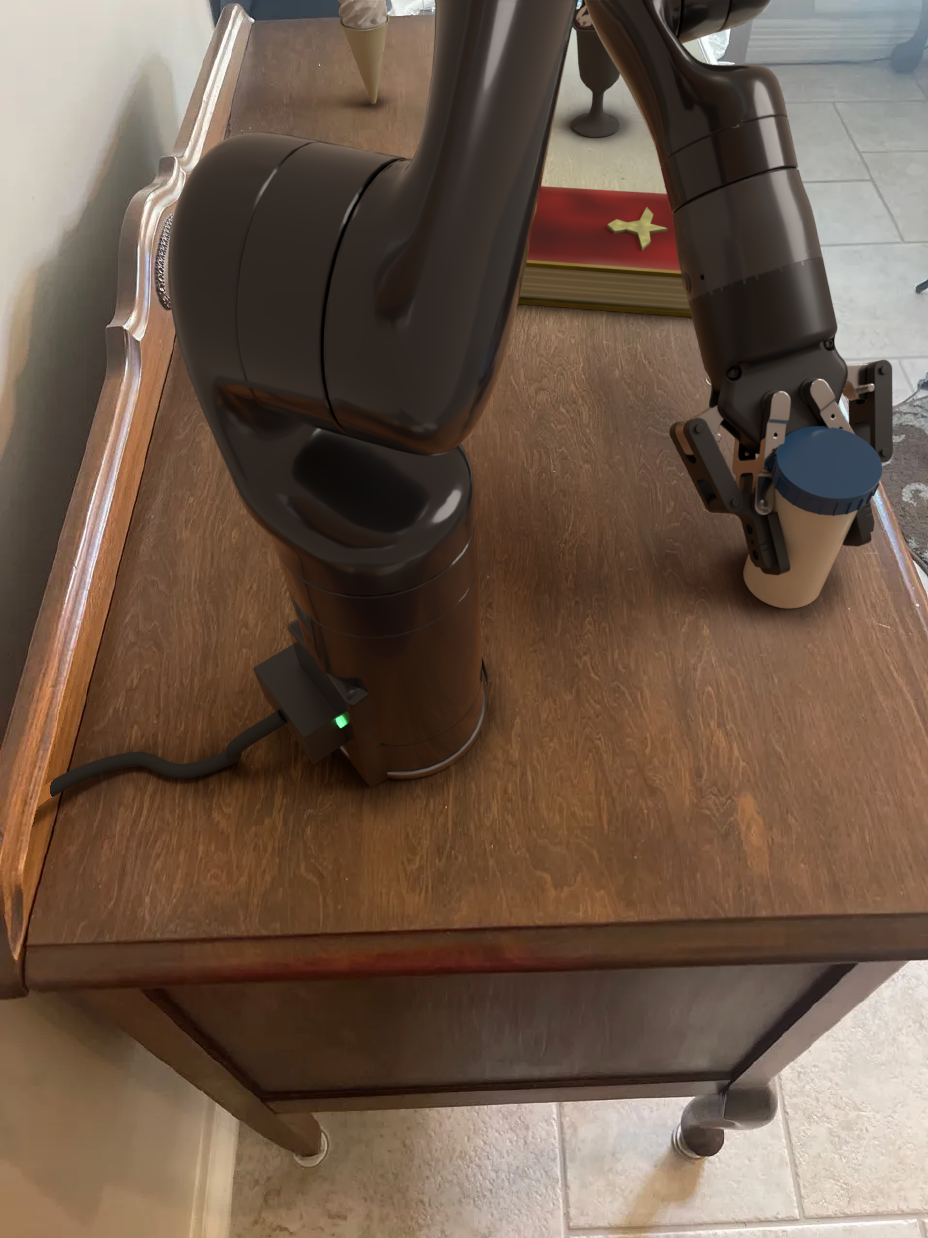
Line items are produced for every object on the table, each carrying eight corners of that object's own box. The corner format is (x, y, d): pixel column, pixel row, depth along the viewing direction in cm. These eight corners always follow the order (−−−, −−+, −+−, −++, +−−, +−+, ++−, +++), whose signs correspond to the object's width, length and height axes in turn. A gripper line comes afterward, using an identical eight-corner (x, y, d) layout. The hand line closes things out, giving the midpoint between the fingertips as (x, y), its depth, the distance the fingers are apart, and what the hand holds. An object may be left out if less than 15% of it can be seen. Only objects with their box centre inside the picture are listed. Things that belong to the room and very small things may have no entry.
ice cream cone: (340, 106, 99) (317, -59, 87) (369, 87, 101) (351, -76, 89) (377, 118, 97) (359, -49, 85) (406, 98, 99) (392, -67, 87)
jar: (785, 622, 58) (832, 512, 50) (727, 573, 60) (762, 461, 52) (838, 583, 60) (892, 470, 51) (779, 537, 62) (821, 422, 54)
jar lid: (828, 532, 50) (835, 515, 49) (748, 472, 53) (753, 455, 52) (897, 484, 52) (905, 466, 51) (816, 428, 55) (823, 410, 54)
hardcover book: (480, 220, 85) (479, 176, 82) (710, 235, 83) (719, 190, 79) (457, 298, 79) (455, 254, 75) (707, 318, 76) (717, 272, 72)
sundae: (625, 143, 92) (644, -29, 80) (559, 139, 93) (567, -32, 81) (631, 111, 96) (650, -58, 84) (568, 107, 97) (577, -60, 85)
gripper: (671, 291, 47) (747, 602, 51) (903, 225, 50) (962, 523, 53) (613, 320, 55) (683, 590, 58) (819, 260, 57) (875, 521, 61)
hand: (816, 557), depth 56 cm, fingers closed on jar, 5 cm apart
